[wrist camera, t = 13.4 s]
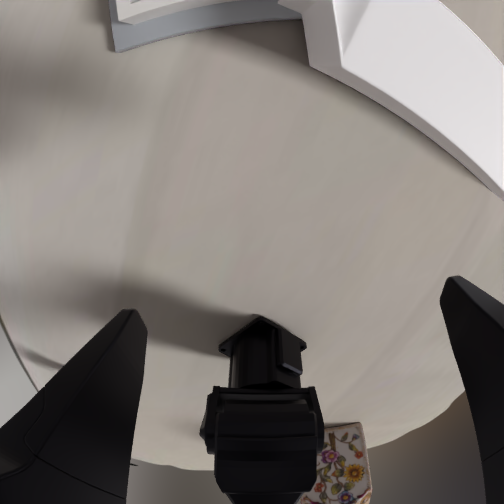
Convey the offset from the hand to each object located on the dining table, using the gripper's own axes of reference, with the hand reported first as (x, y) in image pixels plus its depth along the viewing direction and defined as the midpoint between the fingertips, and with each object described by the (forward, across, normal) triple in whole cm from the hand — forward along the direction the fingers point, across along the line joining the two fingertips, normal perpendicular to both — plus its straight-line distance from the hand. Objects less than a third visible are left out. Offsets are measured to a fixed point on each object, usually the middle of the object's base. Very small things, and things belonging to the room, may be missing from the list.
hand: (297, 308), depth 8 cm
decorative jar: (+13, -6, +50) cm, 52 cm away
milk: (+10, -21, +1) cm, 23 cm away
